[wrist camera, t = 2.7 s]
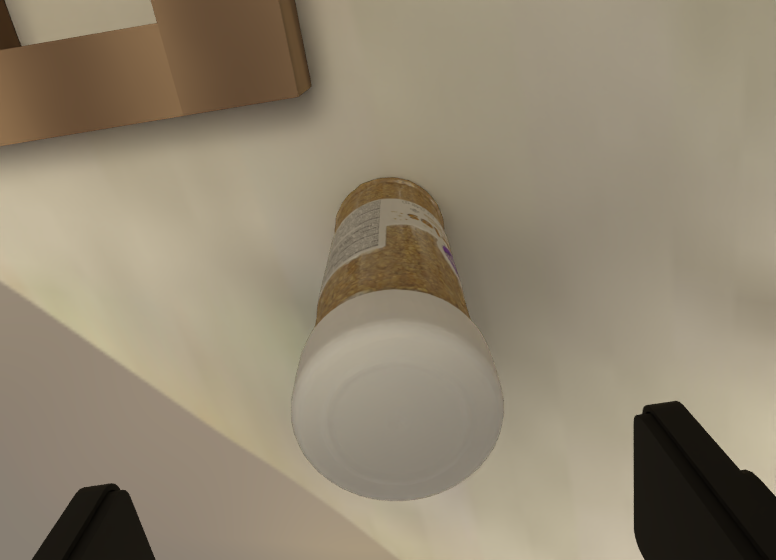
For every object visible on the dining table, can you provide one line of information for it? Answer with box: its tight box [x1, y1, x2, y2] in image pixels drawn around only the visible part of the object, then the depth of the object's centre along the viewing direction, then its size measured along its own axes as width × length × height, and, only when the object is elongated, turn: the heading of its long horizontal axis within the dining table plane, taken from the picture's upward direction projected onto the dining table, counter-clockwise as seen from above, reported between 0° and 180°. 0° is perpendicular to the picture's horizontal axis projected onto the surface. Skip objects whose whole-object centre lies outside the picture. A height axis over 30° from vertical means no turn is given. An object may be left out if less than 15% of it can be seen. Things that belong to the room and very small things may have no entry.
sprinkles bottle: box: [291, 177, 504, 501], centre depth 18 cm, size 5×5×13 cm
